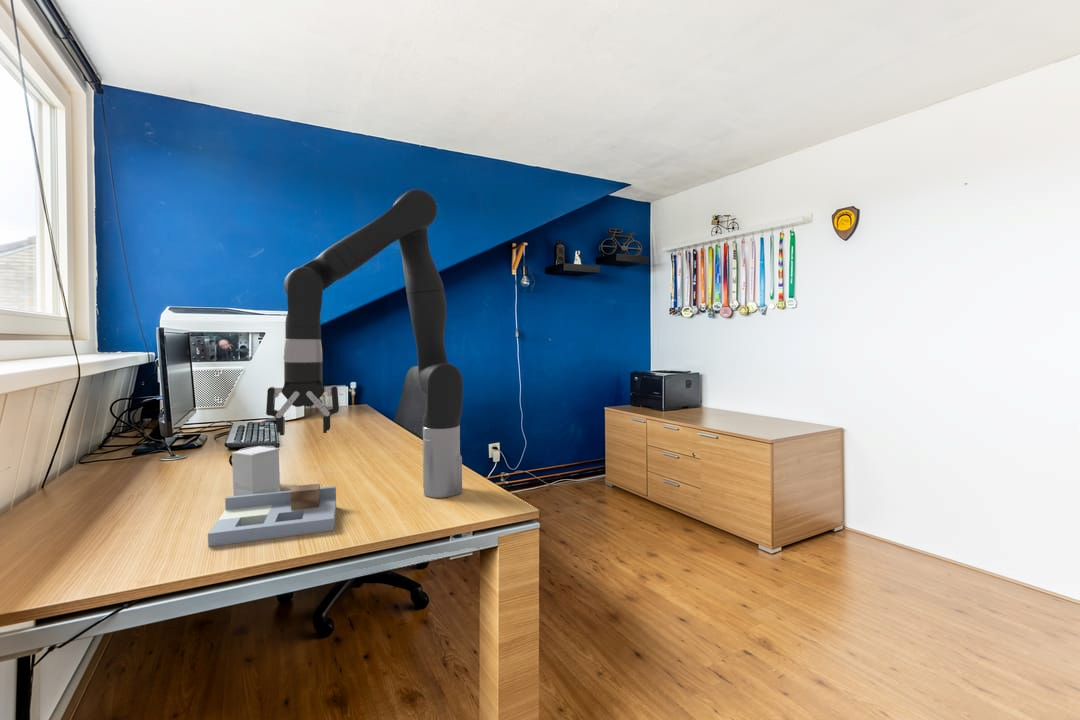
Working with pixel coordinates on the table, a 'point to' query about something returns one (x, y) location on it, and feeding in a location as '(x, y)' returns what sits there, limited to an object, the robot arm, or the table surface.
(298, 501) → the walnut block
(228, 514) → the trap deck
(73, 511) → the table surface
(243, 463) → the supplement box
